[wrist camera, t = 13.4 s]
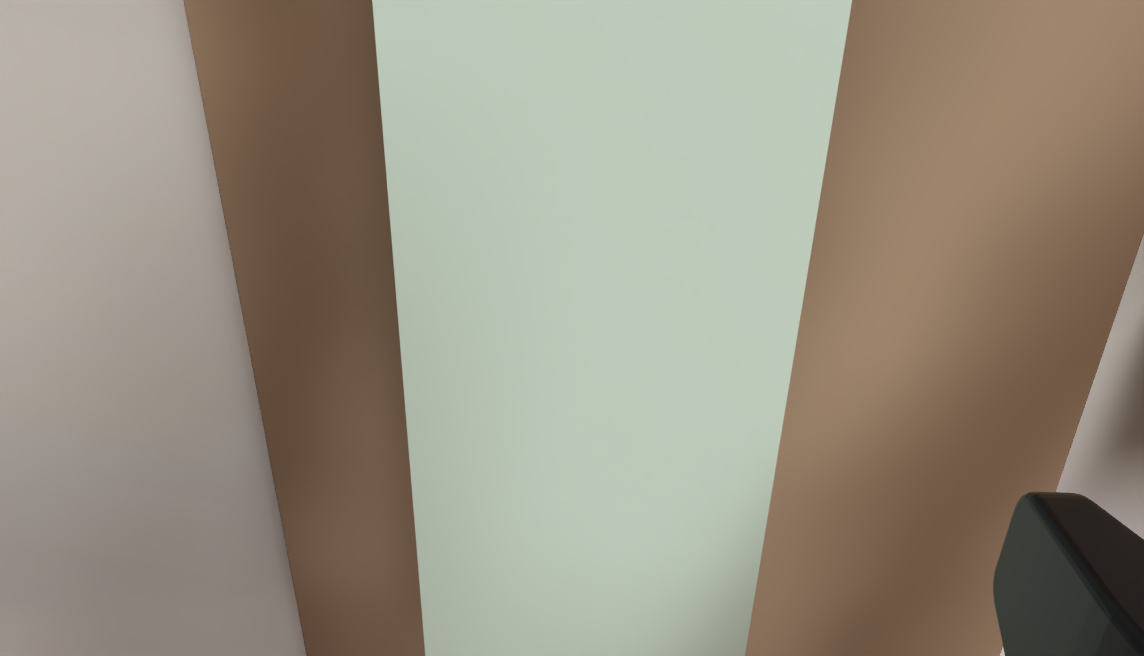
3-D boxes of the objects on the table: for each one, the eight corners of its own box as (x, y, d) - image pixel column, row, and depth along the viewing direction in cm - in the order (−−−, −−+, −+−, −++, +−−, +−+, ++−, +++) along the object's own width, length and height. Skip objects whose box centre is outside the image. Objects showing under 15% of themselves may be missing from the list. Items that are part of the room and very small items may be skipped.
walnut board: (325, 603, 23) (307, 658, 22) (34, -1136, 10) (-55, -1256, 9) (967, 633, 22) (987, 692, 21) (1528, -1166, 9) (1666, -1297, 8)
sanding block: (481, 446, 18) (429, 708, 14) (453, -373, 12) (338, -405, 7) (707, 456, 18) (733, 725, 14) (804, -365, 12) (915, -391, 7)
